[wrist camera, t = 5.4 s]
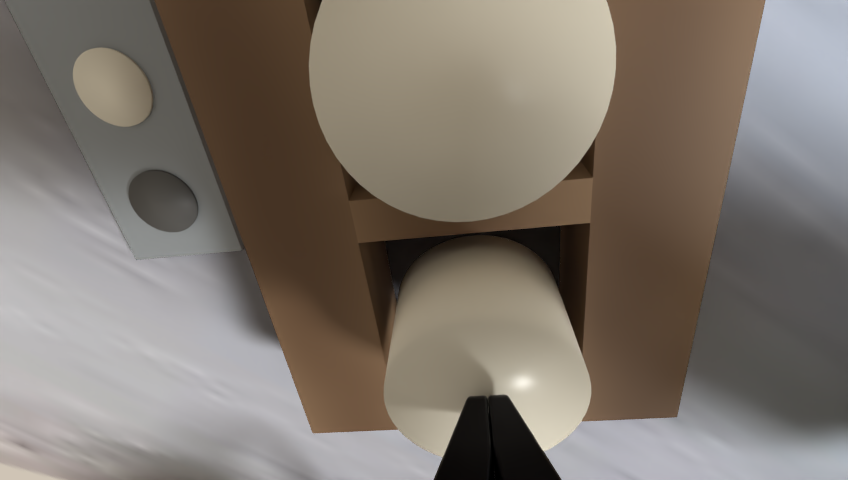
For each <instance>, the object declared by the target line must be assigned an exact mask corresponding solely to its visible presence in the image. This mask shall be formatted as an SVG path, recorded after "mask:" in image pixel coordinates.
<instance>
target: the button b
mask: <svg viewBox="0 0 848 480" xmlns="http://www.w3.org/2000/svg"><path fill="white" fill-rule="evenodd" d="M615 72H616V42H615V34H614V26H613V22H612V18H611V14H610V10H609V7H608V3H607V1H606V0H322V2H321V5H320V8H319V11H318V14H317V17H316V20H315V23H314V28H313V33H312V38H311V43H310V55H309V79H310V89H311V95H312V101H313V106H314V109H315V112H316V116H317V119H318V122H319V125H320V127H321V129H322V132H323V134H324V136H325V139H326V141H327V143H328V144H329V146H330V148H331V149H332V151H333V153H334V154H335V156H336V158H337V159H338V160H339V162H340V163H341V164H342V165H343V167H344V168H345V169H346V171H347V172H348V173H349V174H350V175H351V176H352V177H353V178H354V179H355V180H356V181H357V182H358V183H359V184H360V185H361V186H362V187H364V188H365V189H366V190H367V191H369V192H370V193H371V194H372V195H374V196H375V197H377V198H378V199H380V200H382V201H383V202H385V203H387V204H388V205H390V206H392V207H394V208H397V209H399V210H401V211H403V212H406V213H409V214H412V215H415V216H418V217H421V218H426V219H431V220H436V221H447V222H471V221H478V220H485V219H490V218H494V217H497V216H501V215H505V214H507V213H510V212H512V211H515V210H517V209H520V208H522V207H524V206H526V205H528V204H530V203H531V202H533V201H535V200H537V199H538V198H540V197H541V196H543V195H544V194H546V193H547V192H549V191H550V190H551V189H553V188H554V187H555V186H556V185H557V184H558V183H560V182H561V181H562V180H563V179H564V178H565V177H566V176H567V175H568V174H569V173H570V172H571V171H572V170H573V169H574V167H575V166H576V165H577V164H578V163H579V162H580V160H581V159H582V158H583V156H584V155H585V153H586V152H587V151H588V149H589V148H590V146H591V144H592V143H593V141H594V139H595V137H596V135H597V133H598V132H599V130H600V128H601V125H602V123H603V120H604V118H605V115H606V113H607V110H608V107H609V103H610V99H611V95H612V92H613V86H614V79H615Z"/></svg>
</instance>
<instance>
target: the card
mask: <svg viewBox="0 0 848 480" xmlns="http://www.w3.org/2000/svg"><path fill="white" fill-rule="evenodd" d="M4 1H5V3H6V5H7V7H8V9H9V11H10V13H11V15H12V17H13V19H14V21H15V23H16V25H17V27H18V28H19V30H20V32H21V34H22V36H23V38H24V40H25V42H26V44H27V46H28V48H29V50H30V52H31V54H32V56H33V58H34V60H35V62H36V64H37V66H38V68H39V70H40V72H41V74H42V76H43V78H44V80H45V82H46V84H47V86H48V88H49V90H50V91H51V93H52V95H53V97H54V99H55V101H56V103H57V105H58V107H59V109H60V111H61V113H62V115H63V117H64V119H65V121H66V123H67V125H68V127H69V129H70V131H71V133H72V135H73V137H74V139H75V141H76V143H77V145H78V147H79V149H80V151H81V152H82V154H83V156H84V158H85V160H86V162H87V164H88V166H89V168H90V170H91V172H92V174H93V176H94V178H95V180H96V182H97V184H98V186H99V188H100V190H101V192H102V194H103V196H104V198H105V200H106V202H107V204H108V206H109V208H110V210H111V212H112V214H113V215H114V217H115V219H116V221H117V223H118V225H119V227H120V229H121V231H122V233H123V235H124V237H125V239H126V241H127V243H128V245H129V247H130V249H131V251H132V253H133V255H134V257H135V259H136V260H142V259H154V258H165V257H176V256H188V255H199V254H211V253H222V252H234V251H242V250H243V249H244V248H245V247H244V244H243V241H242V238H241V236H240V233H239V230H238V227H237V225H236V222H235V219H234V216H233V214H232V211H231V208H230V206H229V203H228V200H227V197H226V195H225V192H224V189H223V186H222V184H221V181H220V178H219V175H218V173H217V170H216V167H215V165H214V162H213V159H212V156H211V154H210V151H209V148H208V145H207V143H206V140H205V137H204V134H203V132H202V129H201V126H200V124H199V121H198V118H197V115H196V113H195V110H194V107H193V104H192V102H191V99H190V96H189V93H188V91H187V88H186V85H185V83H184V80H183V77H182V74H181V72H180V69H179V66H178V63H177V61H176V58H175V55H174V52H173V50H172V47H171V44H170V42H169V39H168V36H167V33H166V31H165V28H164V25H163V22H162V20H161V17H160V14H159V11H158V9H157V6H156V3H155V1H154V0H4Z"/></svg>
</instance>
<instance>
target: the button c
mask: <svg viewBox="0 0 848 480" xmlns="http://www.w3.org/2000/svg"><path fill="white" fill-rule="evenodd" d="M502 394H505V395H508V396H509V398H510V399H511V401H512V402H513V404H514V405H515V407H516V409H517V410H518V412H519V413H520V415H521V416H522V418H523V420H524V421H525V423H526V424H527V426H528V428H529V429H530V431H531V432H532V434H533V435H534V437H535V439H536V440H537V442H538V443H539V445H540V447H541V448H542V450H543V451H546V450H548V449H550V448H552V447H553V446H555V445H557V444H558V443H560V442H561V441H562V440H564V439H565V438H566V437H568V436H569V435H570V434H571V433H572V432H573V431H574V430H575V429H576V428H577V426H578V425H579V424H580V422H581V421H582V419H583V418H584V416H585V414H586V412H587V409H588V407H589V404H590V399H591V381H590V377H589V373H588V370H587V368H586V365H585V362H584V359H583V356H582V354H581V351H580V348H579V345H578V342H577V340H576V337H575V334H574V331H573V328H572V326H571V323H570V320H569V317H568V314H567V312H566V309H565V306H564V303H563V300H562V298H561V295H560V292H559V289H558V286H557V284H556V281H555V278H554V276H553V274H552V272H551V270H550V269H549V267H548V266H547V264H546V263H545V262H544V261H543V260H542V259H541V258H540V257H539V256H538V255H537V254H536V253H535V252H533V251H532V250H530V249H529V248H527V247H526V246H524V245H522V244H519V243H517V242H515V241H512V240H509V239H506V238H502V237H497V236H489V235H470V236H463V237H458V238H454V239H450V240H447V241H445V242H442V243H440V244H438V245H436V246H434V247H432V248H430V249H429V250H427V251H426V252H425V253H423V254H422V255H421V256H420V257H419V258H418V259H416V260H415V261H414V262H413V264H412V265H411V266H410V267H409V269H408V270H407V272H406V274H405V275H404V277H403V280H402V282H401V285H400V289H399V294H398V300H397V306H396V313H395V319H394V325H393V332H392V338H391V344H390V350H389V357H388V363H387V369H386V376H385V382H384V402H385V406H386V409H387V412H388V414H389V416H390V418H391V420H392V422H393V423H394V424H395V426H396V427H397V428H398V430H399V431H400V432H401V433H402V434H403V435H404V436H405V437H406V438H408V439H409V440H410V441H412V442H413V443H414V444H416V445H417V446H419V447H421V448H422V449H424V450H426V451H428V452H431V453H433V454H435V455H438V456H441V457H443V456H444V453H445V451H446V448H447V446H448V443H449V441H450V439H451V436H452V434H453V431H454V429H455V426H456V424H457V421H458V419H459V416H460V414H461V411H462V409H463V407H464V404H465V402H466V399H467V398H468V397H469V396H482V395H484V396H486V397H487V398H488V397H489V396H490V395H502ZM488 407H489V406H488Z"/></svg>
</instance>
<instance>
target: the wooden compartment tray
mask: <svg viewBox="0 0 848 480" xmlns="http://www.w3.org/2000/svg"><path fill="white" fill-rule="evenodd" d="M154 1H155V3H156V6H157V9H158V11H159V14H160V17H161V20H162V22H163V25H164V28H165V31H166V33H167V36H168V39H169V42H170V44H171V47H172V50H173V52H174V55H175V58H176V61H177V63H178V66H179V69H180V72H181V74H182V77H183V80H184V83H185V85H186V88H187V91H188V93H189V96H190V99H191V102H192V104H193V107H194V110H195V113H196V115H197V118H198V121H199V124H200V126H201V129H202V132H203V134H204V137H205V140H206V143H207V145H208V148H209V151H210V154H211V156H212V159H213V162H214V165H215V167H216V170H217V173H218V175H219V178H220V181H221V184H222V186H223V189H224V192H225V195H226V197H227V200H228V203H229V206H230V208H231V211H232V214H233V216H234V219H235V222H236V225H237V227H238V230H239V233H240V236H241V238H242V241H243V244H244V247H245V249H246V252H247V255H248V257H249V260H250V263H251V266H252V268H253V271H254V274H255V277H256V279H257V282H258V285H259V288H260V290H261V293H262V296H263V298H264V301H265V304H266V307H267V309H268V312H269V315H270V318H271V320H272V323H273V326H274V329H275V331H276V334H277V337H278V339H279V342H280V345H281V348H282V350H283V353H284V356H285V359H286V361H287V364H288V367H289V369H290V372H291V375H292V378H293V380H294V383H295V386H296V389H297V391H298V394H299V397H300V400H301V402H302V405H303V408H304V410H305V413H306V416H307V419H308V421H309V424H310V427H311V430H312V432H313V433H330V432H353V431H375V430H398V428H397V427H396V426H395V424H394V423H393V422H392V420H391V418H390V416H389V414H388V412H387V409H386V406H385V402H384V382H385V376H386V369H387V363H388V357H389V350H390V344H391V338H392V332H393V325H394V319H395V313H396V306H397V302H396V297H395V291H394V286H393V281H392V276H391V271H390V265H389V260H388V255H387V250H386V244H385V241H388V240H399V239H411V238H422V237H434V236H445V235H457V234H468V233H480V232H491V231H503V230H514V229H526V228H537V227H549V226H560V225H561V231H560V274H559V292H560V295H561V298H562V300H563V303H564V306H565V309H566V312H567V314H568V317H569V320H570V323H571V326H572V328H573V331H574V334H575V337H576V340H577V342H578V345H579V348H580V351H581V354H582V356H583V359H584V362H585V365H586V368H587V370H588V373H589V377H590V381H591V399H590V404H589V407H588V409H587V412H586V414H585V416H584V418H583V419H582V421H601V420H624V419H646V418H669V417H677V414H678V410H679V405H680V400H681V396H682V391H683V386H684V381H685V377H686V372H687V367H688V363H689V358H690V353H691V348H692V344H693V339H694V334H695V330H696V325H697V320H698V315H699V311H700V306H701V301H702V297H703V292H704V287H705V282H706V278H707V273H708V268H709V264H710V259H711V254H712V249H713V245H714V240H715V235H716V231H717V226H718V221H719V216H720V212H721V207H722V202H723V198H724V193H725V188H726V183H727V179H728V174H729V169H730V165H731V160H732V155H733V150H734V146H735V141H736V136H737V132H738V127H739V122H740V117H741V113H742V108H743V103H744V99H745V94H746V89H747V84H748V80H749V75H750V70H751V66H752V61H753V56H754V51H755V47H756V42H757V37H758V33H759V28H760V23H761V18H762V14H763V9H764V4H765V0H606V1H607V3H608V7H609V10H610V14H611V18H612V22H613V26H614V34H615V42H616V72H615V79H614V86H613V92H612V95H611V99H610V103H609V107H608V110H607V113H606V115H605V118H604V120H603V123H602V125H601V128H600V130H599V132H598V133H597V135H596V137H595V139H594V141H593V143H592V144H591V146H590V148H589V149H588V151H587V152H586V153H585V155H584V156H583V158H582V159H581V160H580V162H579V163H578V164H577V165H576V166H575V167H574V169H573V170H572V171H571V172H570V173H569V174H568V175H567V176H566V177H565V178H564V179H563V180H562V181H561V182H560V183H558V184H557V185H556V186H555V187H554V188H553V189H551V190H550V191H549V192H547V193H546V194H544V195H543V196H541V197H540V198H538V199H537V200H535V201H533V202H531V203H530V204H528V205H526V206H524V207H522V208H520V209H517V210H515V211H512V212H510V213H507V214H505V215H501V216H497V217H494V218H490V219H485V220H478V221H471V222H447V221H436V220H431V219H426V218H421V217H418V216H415V215H412V214H409V213H406V212H403V211H401V210H399V209H397V208H394V207H392V206H390V205H388V204H387V203H385V202H383V201H382V200H380V199H378V198H377V197H375V196H374V195H372V194H371V193H370V192H369V191H367V190H366V189H365V188H364V187H362V186H361V185H360V184H359V183H358V182H357V181H356V180H355V179H354V178H353V177H352V176H351V175H350V174H349V173H348V172H347V171H346V169H345V168H344V167H343V165H342V164H341V163H340V162H339V160H338V159H337V158H336V156H335V154H334V153H333V151H332V149H331V148H330V146H329V144H328V143H327V141H326V139H325V136H324V134H323V132H322V129H321V127H320V125H319V122H318V119H317V116H316V112H315V109H314V106H313V101H312V95H311V89H310V79H309V55H310V43H311V38H312V33H313V28H314V23H315V20H316V17H317V14H318V11H319V8H320V5H321V2H322V0H154Z"/></svg>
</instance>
